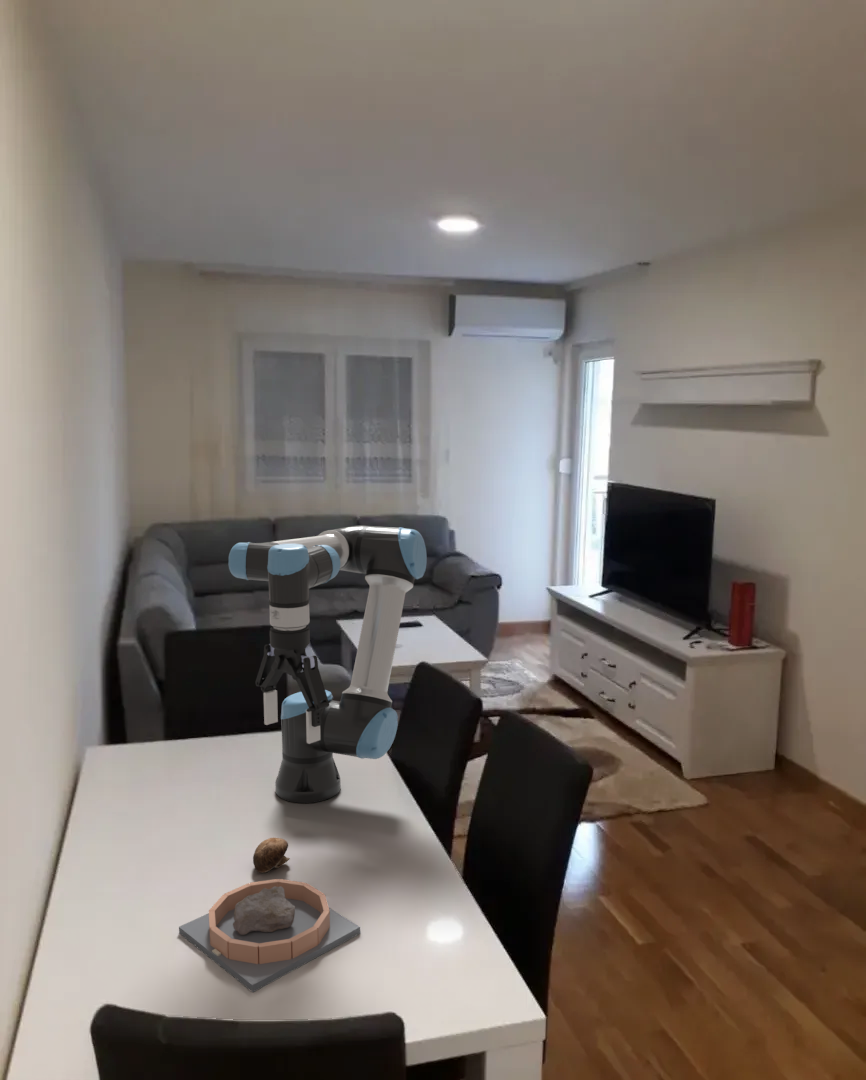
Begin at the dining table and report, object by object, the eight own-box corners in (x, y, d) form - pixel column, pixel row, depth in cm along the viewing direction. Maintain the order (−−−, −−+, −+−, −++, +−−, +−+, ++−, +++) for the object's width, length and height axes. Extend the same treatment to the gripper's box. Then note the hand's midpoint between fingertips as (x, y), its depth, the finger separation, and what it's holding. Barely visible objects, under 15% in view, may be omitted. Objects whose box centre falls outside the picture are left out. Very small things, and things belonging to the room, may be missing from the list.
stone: (248, 948, 150) (247, 916, 149) (227, 926, 156) (226, 894, 155) (301, 928, 156) (300, 896, 155) (278, 907, 162) (278, 876, 161)
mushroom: (304, 846, 180) (284, 825, 178) (287, 879, 173) (266, 857, 171) (278, 855, 184) (258, 834, 182) (260, 887, 177) (239, 866, 176)
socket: (283, 884, 172) (283, 864, 171) (360, 933, 157) (360, 910, 156) (179, 933, 156) (178, 910, 156) (252, 992, 141) (252, 967, 140)
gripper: (235, 617, 179) (239, 720, 182) (314, 642, 162) (316, 755, 165) (267, 611, 184) (270, 711, 188) (347, 634, 167) (348, 744, 170)
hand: (291, 732), depth 176 cm, fingers open, 13 cm apart
